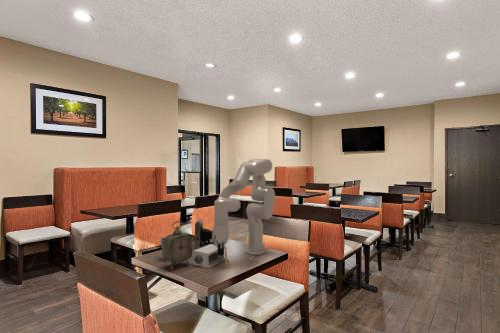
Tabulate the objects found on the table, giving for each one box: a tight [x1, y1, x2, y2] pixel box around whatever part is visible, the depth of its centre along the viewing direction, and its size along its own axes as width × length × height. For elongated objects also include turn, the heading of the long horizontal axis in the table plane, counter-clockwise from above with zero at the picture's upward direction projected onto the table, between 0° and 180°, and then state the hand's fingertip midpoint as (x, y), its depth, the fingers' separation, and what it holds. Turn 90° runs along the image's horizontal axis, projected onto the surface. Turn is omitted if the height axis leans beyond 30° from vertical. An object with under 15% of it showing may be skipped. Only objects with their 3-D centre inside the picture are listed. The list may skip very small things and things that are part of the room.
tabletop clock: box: [163, 220, 194, 271], centre depth 163 cm, size 14×9×25 cm, turn 139°
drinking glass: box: [160, 237, 168, 262], centre depth 177 cm, size 10×10×12 cm
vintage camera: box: [193, 219, 214, 251], centre depth 194 cm, size 10×16×20 cm, turn 89°
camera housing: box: [192, 244, 227, 269], centre depth 169 cm, size 18×11×8 cm, turn 150°
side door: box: [224, 247, 230, 269], centre depth 166 cm, size 15×2×7 cm, turn 5°
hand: (220, 254), depth 163 cm, fingers closed
